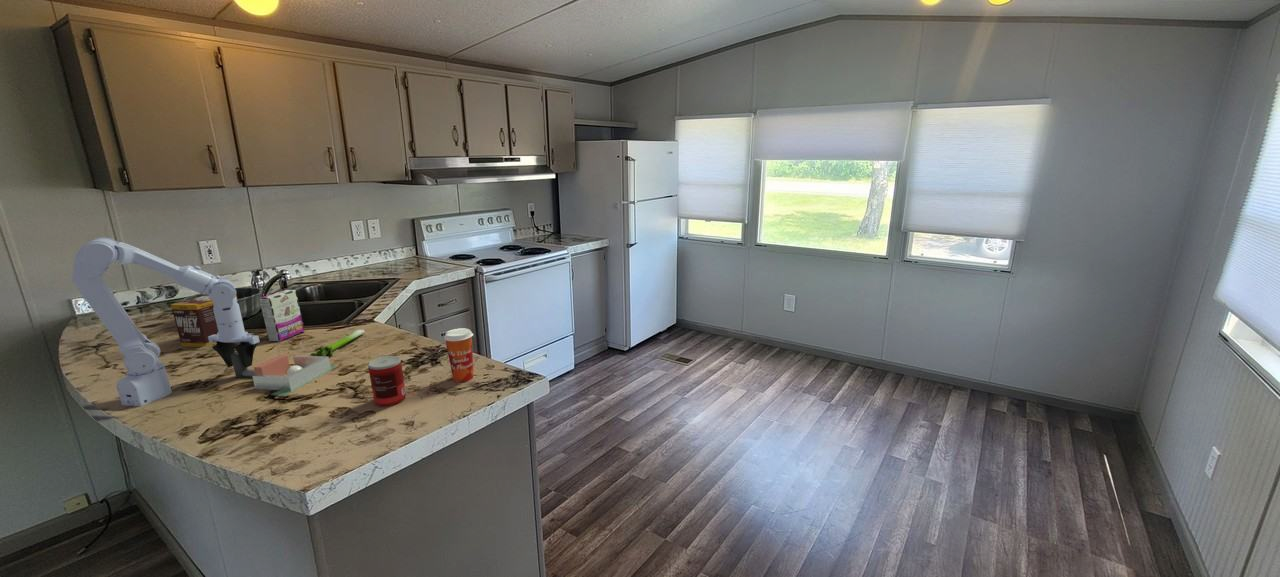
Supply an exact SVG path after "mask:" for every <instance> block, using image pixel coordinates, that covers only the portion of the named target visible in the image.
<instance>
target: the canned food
mask: <svg viewBox="0 0 1280 577" xmlns="http://www.w3.org/2000/svg"><path fill="white" fill-rule="evenodd" d="M367 366H368V374H369V379H370V385H371V390H372V391H371V392H372V396H373V402H374V403H375V405H376V406H379V407H390V406H391V405H392V406H394V405H398V404H400V403H402V402H403V401H404V400H405V399H406V395H407V393H406V386H405V379H404V378H405V377H404V373H403V365H402V361H401V357H400V356H398V355H397V356H396V355H385V356H380V357H376V358H374V359H372V360H370V361H369V362H368V363H367ZM397 403H398V404H397Z"/></svg>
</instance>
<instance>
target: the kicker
mask: <svg viewBox="0 0 1280 577" xmlns="http://www.w3.org/2000/svg"><path fill="white" fill-rule="evenodd" d="M231 359H232V363H233V366H232V367H233V370H234V376H235V378H236V379H242V378H245V377H252V376H254V375H276V376H285V375H287V371H288V369H289V368H290V367H291V366H290V362H289V357H288V355H287V354H286V355H285V354H279V355H277V356H274V357H273V358H271V359H269V360H266V361H264V362H261V363H260V364H257V365H256V366H255V365H254V366H253V369H248V367H247V368H244V366H243V364H242V361H241V358H240V356H239V354H238V352H237V351H236V352H235V353H232V354H231ZM252 378H253V377H252Z"/></svg>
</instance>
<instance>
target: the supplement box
mask: <svg viewBox="0 0 1280 577" xmlns="http://www.w3.org/2000/svg"><path fill="white" fill-rule="evenodd" d="M236 298H237V295H236ZM181 301H182V300H181ZM181 301H179V302H178V301H177V302H175V303H171V304H170V307H171V311H172V314H173V315H172V316H173V318H174V322H175V326H176V329H177V333H178V337H179V341H180V345H181V347H186V348H187V347H189V348H204V347H206V346H207V347H209V346H210V347H212V346H214V345H213V344H215V345H216V342H214V343H209V339H208V336H211V335H214V334H219V331H218V327H217V323H216V318H215V314H214V310H213V307H214V305H213V301H212V299H211V298H210V297H209V295H204V296H200V297H197V298H193V299H189V300H186V301H182V302H181ZM237 303H238V300H237ZM211 345H212V346H211Z"/></svg>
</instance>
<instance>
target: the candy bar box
mask: <svg viewBox="0 0 1280 577" xmlns="http://www.w3.org/2000/svg"><path fill="white" fill-rule="evenodd" d="M259 300H260V305H261V309H260V310H261V312H262V313H261V314H262V316H263V320H264V324H265V329H266V333H267V338H268V341H269V342H271V341H277V342H278V343H279V342H280V341H281V342H283V341H286V340H288V339H290V337H291V338H293V337H295V336H294V335H296V336H298V335H300V334H302V333H301V332H303V333H305V332H304V331H306V330H305V326H304V321H303V317H302V312H301V307H300V304H299V303H300V302H299V299H298V293H297V290H295V289H284V290H281V291H277V292H274V293H271V294H267V295H264V296H262V297H261V298H259ZM299 333H300V334H299ZM297 334H298V335H297ZM292 336H293V337H292ZM285 339H286V340H285ZM281 342H280V343H281Z"/></svg>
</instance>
